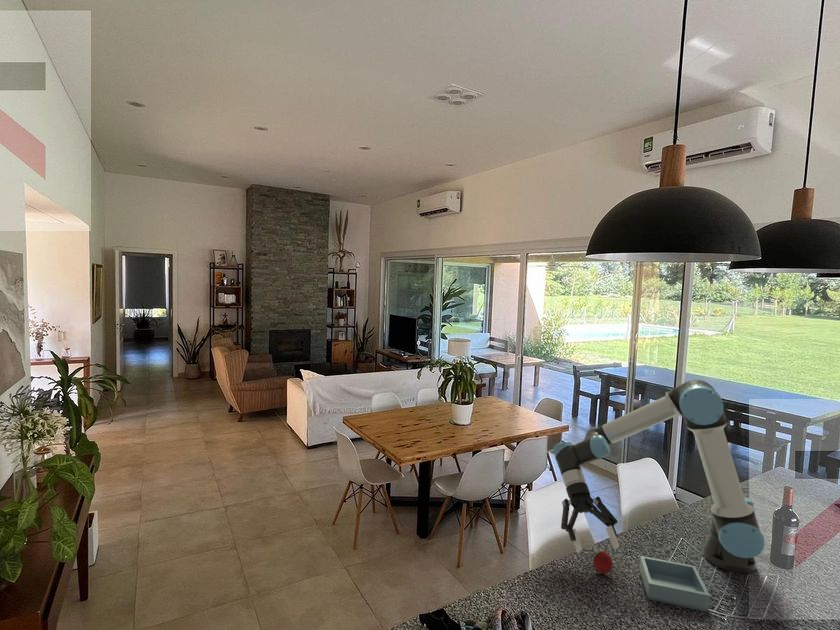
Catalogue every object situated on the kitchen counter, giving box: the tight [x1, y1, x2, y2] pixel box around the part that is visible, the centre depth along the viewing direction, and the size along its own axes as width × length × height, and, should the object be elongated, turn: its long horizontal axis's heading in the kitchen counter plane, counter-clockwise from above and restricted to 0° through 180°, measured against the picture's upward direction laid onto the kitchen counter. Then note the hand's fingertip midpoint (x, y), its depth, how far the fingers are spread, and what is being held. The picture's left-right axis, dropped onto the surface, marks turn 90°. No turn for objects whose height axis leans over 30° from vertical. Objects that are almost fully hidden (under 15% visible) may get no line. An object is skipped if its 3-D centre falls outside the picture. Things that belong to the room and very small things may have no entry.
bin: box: [638, 555, 711, 613], centre depth 140 cm, size 16×15×5 cm
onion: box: [592, 549, 614, 575], centre depth 146 cm, size 6×6×8 cm
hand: (598, 549), depth 148 cm, fingers open, 13 cm apart
